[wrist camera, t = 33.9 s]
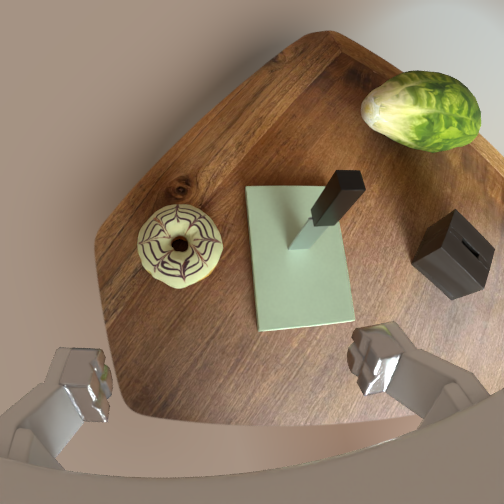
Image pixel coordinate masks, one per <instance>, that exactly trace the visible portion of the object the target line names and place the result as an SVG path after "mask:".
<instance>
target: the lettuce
mask: <svg viewBox="0 0 504 504" xmlns="http://www.w3.org/2000/svg"><path fill="white" fill-rule="evenodd" d="M361 116H362V118H363V120H364V121H365V122H366V123H367V124H368V126H369V127H371V128H372V129H373V130H374V131H377V132H379V133H381V134H384V135H385V136H387V137H388V138H390V139H391V140H393V141H396V142H398V143H400V144H403V145H405V146H407V147H410V148H414V149H418V150H424V151H428V152H432V153H434V152H440V151H446V150H450V149H452V148H455V147H462V146H464V145H467V144H469V143H471V142H472V141H473V140H474V138H475V137H476V136H477V135H478V132H479V129H480V127H481V111H480V109H479V106H478V103H477V101H476V98H475V97H474V96H473V94H472V93H471V92H470V91H469V89H468V88H467V87H466V86H465V85H463V84H462V83H461V82H460V81H459V80H457V79H455V78H453V77H451V76H448V75H445V74H442V73H438V72H428V71H408V72H404V73H401V74H399V75H397V76H395V77H393V78H391V79H390V80H388V81H386V82H385V83H384V84H383V85H382V86H380V87H378V88H376V89H374V90H373V91H371V92H370V93H369V94H368V95H367V97H366V98H365V99H364V100H363V102H362V105H361Z"/></svg>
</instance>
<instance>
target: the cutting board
mask: <svg viewBox="0 0 504 504" xmlns="http://www.w3.org/2000/svg"><path fill="white" fill-rule="evenodd" d="M325 187H326V186H246V188H245V196H246V207H247V218H248V229H249V240H250V251H251V262H252V273H253V284H254V295H255V306H256V317H257V328H258V331H270V330H281V329H291V328H301V327H310V326H319V325H327V324H335V323H343V322H351V321H354V320H355V316H354V309H353V302H352V295H351V288H350V281H349V275H348V269H347V263H346V257H345V251H344V246H343V240H342V235H341V230H340V224H339V221H338V222H337V223H336V225H335V226H329V227H328V228H327V229H326V230H325V231H324V232H323V234H322V235H321V236H320V237H319V238H318V239H317V240H316V242H315V243H314V244H313V245H312V246H311V247H310V249H298V250H288V247H289V246H290V244H291V243H292V242H293V240H294V239H295V237H296V236H297V234H298V233H299V231H300V230H301V228H302V227H303V225H304V224H305V223H306V221H307V220H308V218H309V217H312V215H311V208H312V207H313V205H314V204H315V202H316V200H317V199H318V197H319V196H320V194H321V193H322V191H323V190H324V188H325Z"/></svg>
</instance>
